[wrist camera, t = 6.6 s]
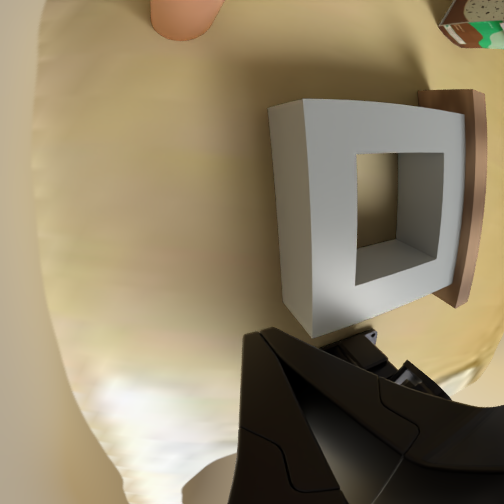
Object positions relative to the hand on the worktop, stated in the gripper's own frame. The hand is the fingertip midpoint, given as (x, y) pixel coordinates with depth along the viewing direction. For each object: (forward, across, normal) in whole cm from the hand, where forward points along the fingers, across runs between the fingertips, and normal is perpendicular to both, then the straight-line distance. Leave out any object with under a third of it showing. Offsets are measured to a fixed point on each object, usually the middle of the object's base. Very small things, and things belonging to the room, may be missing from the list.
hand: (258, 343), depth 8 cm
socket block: (+12, -12, 0) cm, 18 cm away
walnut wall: (+12, -20, 0) cm, 24 cm away
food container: (+13, -30, -18) cm, 37 cm away
